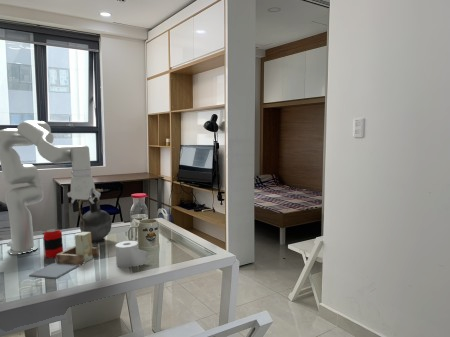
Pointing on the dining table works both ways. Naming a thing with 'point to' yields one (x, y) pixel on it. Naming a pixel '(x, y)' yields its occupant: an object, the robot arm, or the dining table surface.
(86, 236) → the skincare box
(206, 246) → the dining table surface
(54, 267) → the grey mat
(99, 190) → the pitcher
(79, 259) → the walnut cradle
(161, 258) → the dining table surface
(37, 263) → the dining table surface
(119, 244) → the toilet tissue
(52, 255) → the soda can
